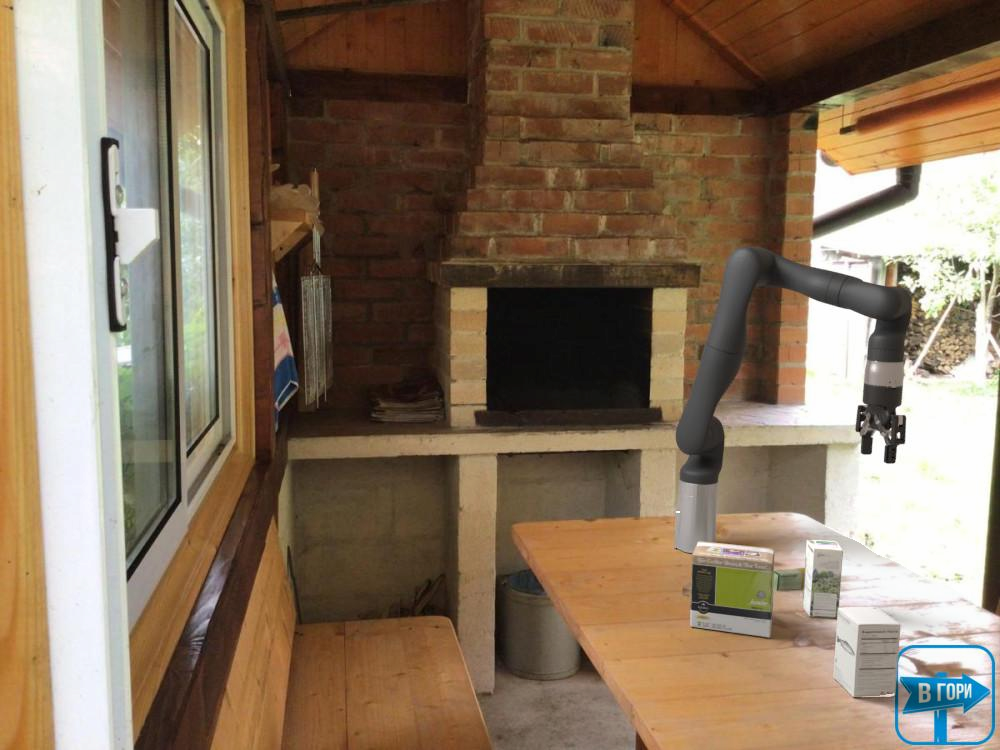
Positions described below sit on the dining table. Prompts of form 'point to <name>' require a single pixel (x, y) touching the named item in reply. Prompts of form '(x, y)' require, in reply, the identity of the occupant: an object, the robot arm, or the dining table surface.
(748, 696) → the dining table surface
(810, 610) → the syrup box
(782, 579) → the medication box
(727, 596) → the tea box
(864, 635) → the supplement box
